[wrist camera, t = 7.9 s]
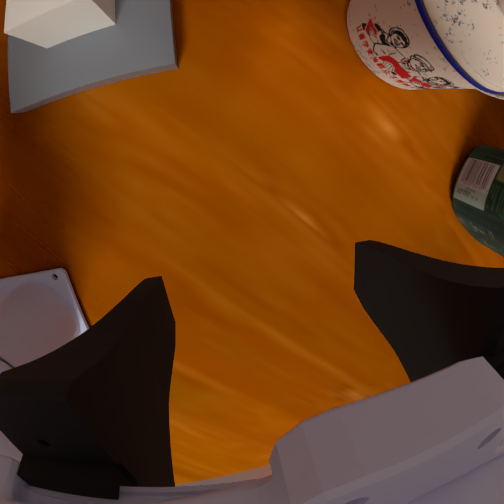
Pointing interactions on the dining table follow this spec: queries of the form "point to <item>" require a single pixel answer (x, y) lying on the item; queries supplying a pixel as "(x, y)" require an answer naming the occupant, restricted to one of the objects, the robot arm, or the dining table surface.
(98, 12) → the cream cube
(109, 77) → the slate block
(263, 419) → the dining table surface
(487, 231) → the coffee jar
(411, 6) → the teacup with lid
